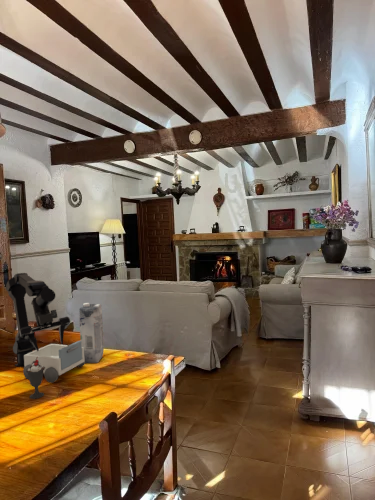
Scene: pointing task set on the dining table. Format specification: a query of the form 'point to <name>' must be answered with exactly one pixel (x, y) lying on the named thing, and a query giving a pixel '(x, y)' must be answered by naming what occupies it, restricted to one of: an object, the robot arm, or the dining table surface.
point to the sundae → (35, 377)
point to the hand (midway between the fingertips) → (50, 347)
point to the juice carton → (91, 332)
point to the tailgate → (70, 354)
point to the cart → (50, 361)
